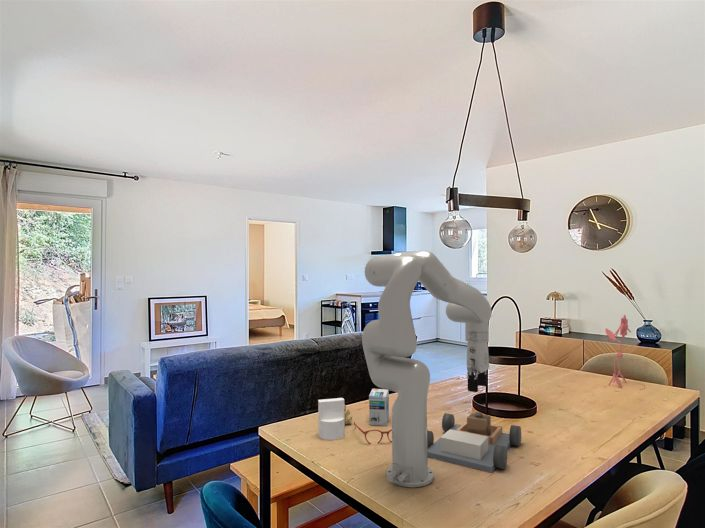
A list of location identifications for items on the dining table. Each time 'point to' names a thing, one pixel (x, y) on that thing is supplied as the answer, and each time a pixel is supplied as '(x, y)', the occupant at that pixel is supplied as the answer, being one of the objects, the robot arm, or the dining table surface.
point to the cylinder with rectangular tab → (331, 418)
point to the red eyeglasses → (374, 430)
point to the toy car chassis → (472, 445)
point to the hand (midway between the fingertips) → (477, 388)
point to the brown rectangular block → (479, 424)
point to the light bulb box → (379, 407)
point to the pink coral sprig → (623, 332)
